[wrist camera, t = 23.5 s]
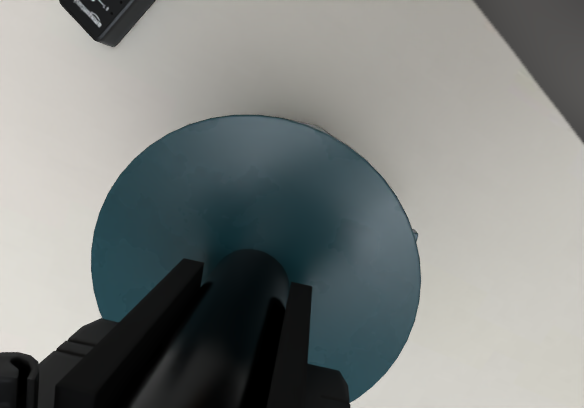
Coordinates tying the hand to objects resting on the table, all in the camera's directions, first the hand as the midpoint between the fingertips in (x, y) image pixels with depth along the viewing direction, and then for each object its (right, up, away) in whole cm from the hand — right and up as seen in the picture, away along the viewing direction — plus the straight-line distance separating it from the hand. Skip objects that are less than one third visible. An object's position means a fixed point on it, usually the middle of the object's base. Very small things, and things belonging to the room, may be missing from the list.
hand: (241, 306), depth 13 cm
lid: (0, +1, +2) cm, 2 cm away
